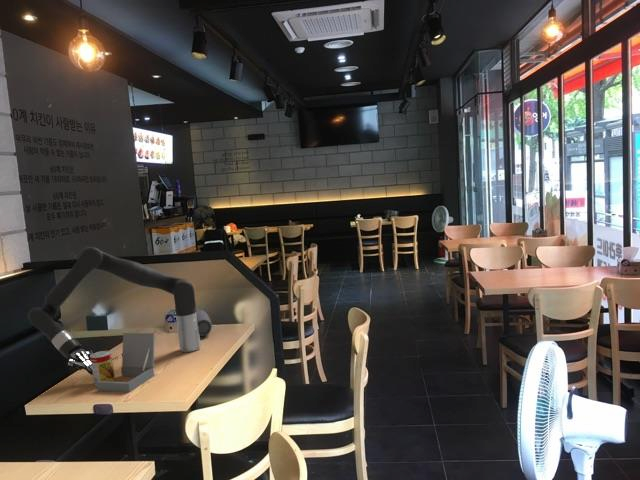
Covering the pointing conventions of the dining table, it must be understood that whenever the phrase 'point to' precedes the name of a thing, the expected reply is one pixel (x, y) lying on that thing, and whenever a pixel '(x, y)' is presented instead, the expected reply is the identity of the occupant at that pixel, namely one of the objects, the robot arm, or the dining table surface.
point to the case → (134, 362)
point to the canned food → (102, 367)
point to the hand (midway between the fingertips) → (94, 373)
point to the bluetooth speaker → (203, 322)
